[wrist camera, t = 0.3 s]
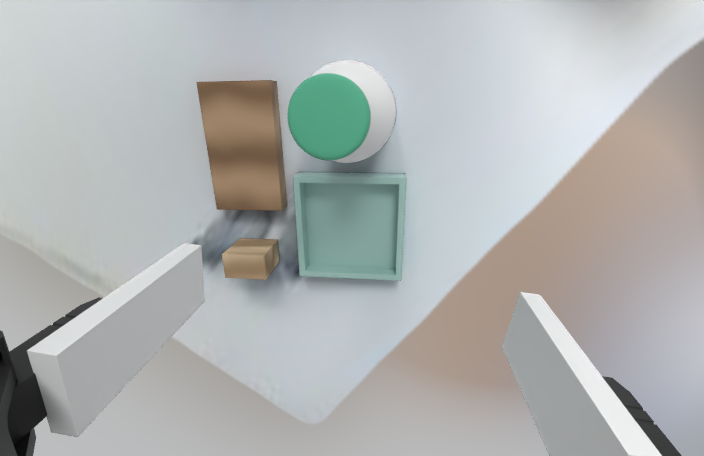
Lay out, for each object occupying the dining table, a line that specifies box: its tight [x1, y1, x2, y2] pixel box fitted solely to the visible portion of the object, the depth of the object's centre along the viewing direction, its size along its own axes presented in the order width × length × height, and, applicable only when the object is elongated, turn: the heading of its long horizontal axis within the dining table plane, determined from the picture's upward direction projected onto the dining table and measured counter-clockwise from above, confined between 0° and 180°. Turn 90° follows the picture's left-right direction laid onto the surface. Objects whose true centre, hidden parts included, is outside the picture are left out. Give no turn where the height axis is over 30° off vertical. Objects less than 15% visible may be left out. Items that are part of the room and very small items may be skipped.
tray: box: [293, 172, 406, 281], centre depth 40 cm, size 12×12×2 cm
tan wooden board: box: [197, 80, 287, 211], centre depth 39 cm, size 14×8×2 cm, turn 1°
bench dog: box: [222, 238, 280, 280], centre depth 42 cm, size 3×5×5 cm, turn 90°
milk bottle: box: [288, 60, 396, 163], centre depth 28 cm, size 8×8×20 cm
